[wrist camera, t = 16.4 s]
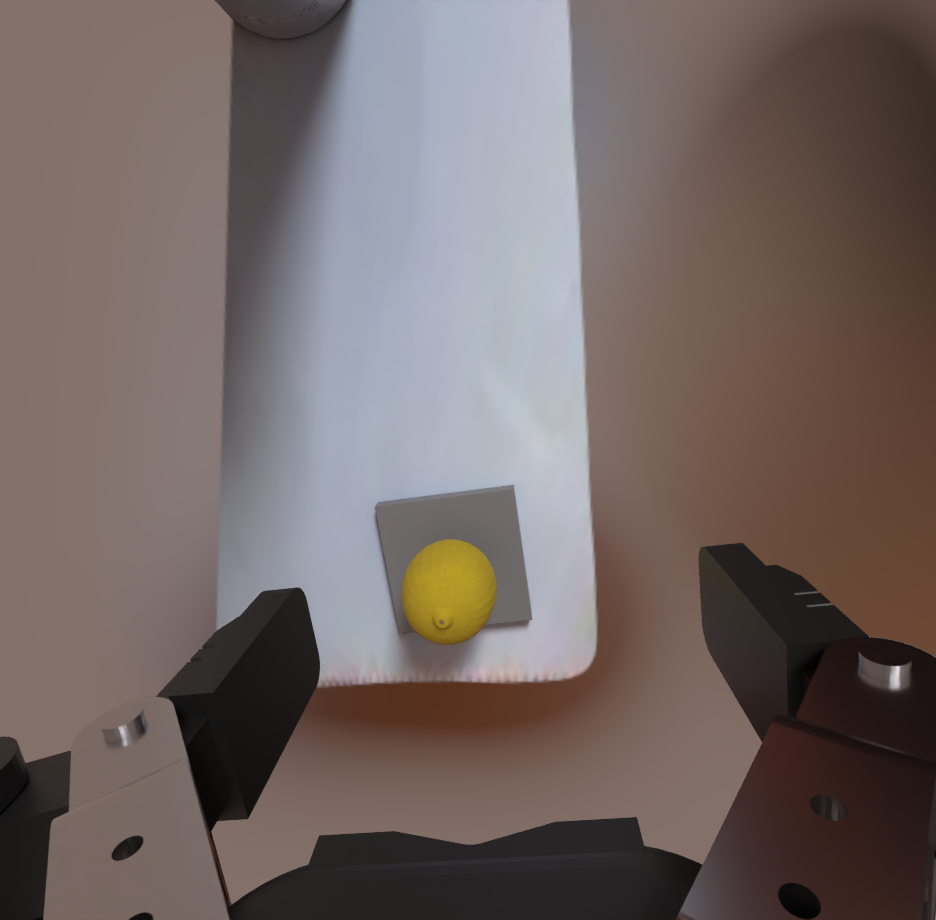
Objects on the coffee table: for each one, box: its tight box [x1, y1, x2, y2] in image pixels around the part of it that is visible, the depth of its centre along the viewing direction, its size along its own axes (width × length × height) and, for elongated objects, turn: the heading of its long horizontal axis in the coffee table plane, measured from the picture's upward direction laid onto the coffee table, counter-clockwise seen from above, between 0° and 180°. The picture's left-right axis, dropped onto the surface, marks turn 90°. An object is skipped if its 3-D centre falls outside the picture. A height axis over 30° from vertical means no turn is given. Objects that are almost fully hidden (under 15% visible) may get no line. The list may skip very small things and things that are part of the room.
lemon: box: [401, 539, 497, 645], centre depth 34 cm, size 6×6×8 cm
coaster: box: [375, 485, 532, 634], centre depth 39 cm, size 9×9×1 cm
